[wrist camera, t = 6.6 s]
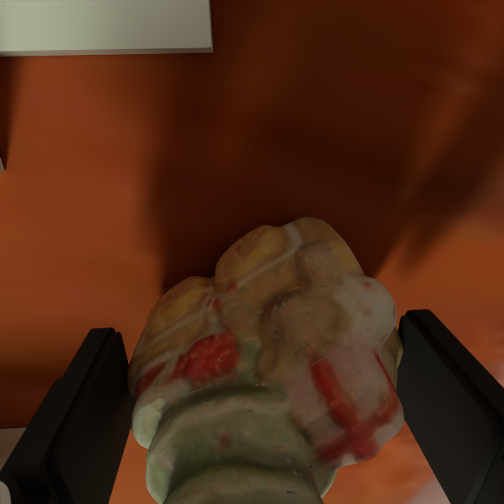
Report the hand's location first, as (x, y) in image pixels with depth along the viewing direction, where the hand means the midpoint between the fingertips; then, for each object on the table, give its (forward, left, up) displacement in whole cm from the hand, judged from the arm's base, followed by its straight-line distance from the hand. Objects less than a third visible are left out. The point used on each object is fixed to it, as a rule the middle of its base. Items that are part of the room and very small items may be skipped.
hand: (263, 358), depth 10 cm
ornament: (0, 0, -3) cm, 3 cm away
